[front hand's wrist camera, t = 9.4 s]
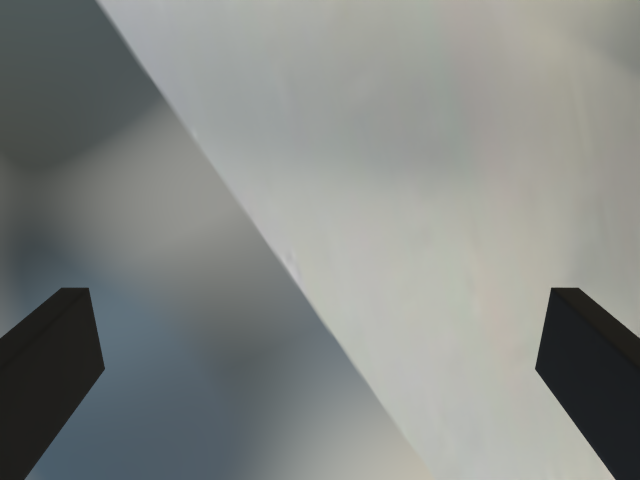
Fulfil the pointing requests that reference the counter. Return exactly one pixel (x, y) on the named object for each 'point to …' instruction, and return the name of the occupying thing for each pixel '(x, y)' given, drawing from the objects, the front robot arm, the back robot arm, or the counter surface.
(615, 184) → the counter surface
